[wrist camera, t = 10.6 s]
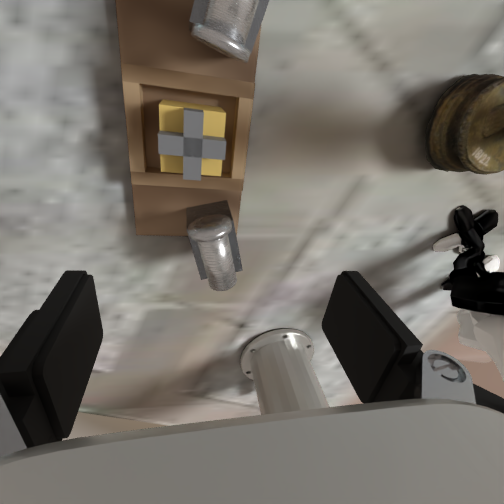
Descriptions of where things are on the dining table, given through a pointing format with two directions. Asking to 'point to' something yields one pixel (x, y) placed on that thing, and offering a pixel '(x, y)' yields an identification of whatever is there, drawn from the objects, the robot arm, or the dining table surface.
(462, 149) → the statue
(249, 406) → the dining table surface
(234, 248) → the shaft
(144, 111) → the bed
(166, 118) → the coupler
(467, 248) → the robot toy
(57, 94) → the dining table surface
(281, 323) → the dining table surface
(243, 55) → the shaft
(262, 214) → the dining table surface
